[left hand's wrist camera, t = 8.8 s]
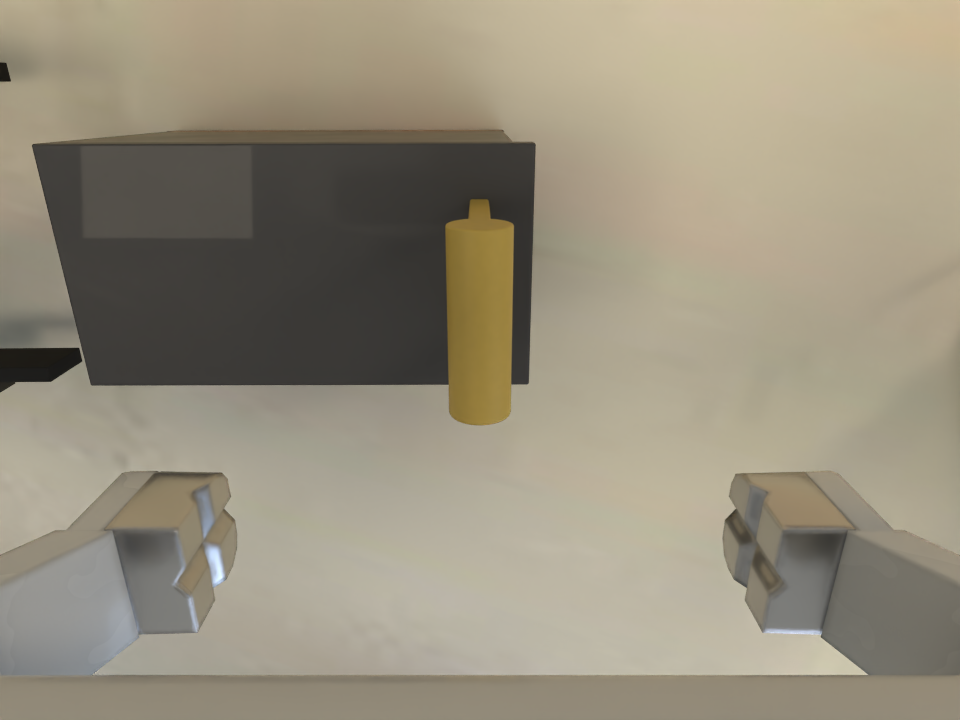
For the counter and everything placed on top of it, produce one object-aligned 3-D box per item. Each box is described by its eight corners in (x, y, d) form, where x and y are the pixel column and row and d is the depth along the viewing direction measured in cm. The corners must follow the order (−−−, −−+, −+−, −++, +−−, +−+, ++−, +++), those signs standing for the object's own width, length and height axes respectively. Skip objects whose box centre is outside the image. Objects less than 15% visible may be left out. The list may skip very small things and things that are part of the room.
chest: (503, 129, 34) (513, 141, 24) (501, 301, 38) (509, 376, 28) (176, 130, 34) (46, 142, 24) (205, 302, 38) (102, 377, 28)
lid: (533, 141, 24) (558, 159, 17) (527, 376, 28) (545, 477, 20) (46, 142, 24) (-149, 160, 17) (102, 377, 28) (-38, 479, 20)
